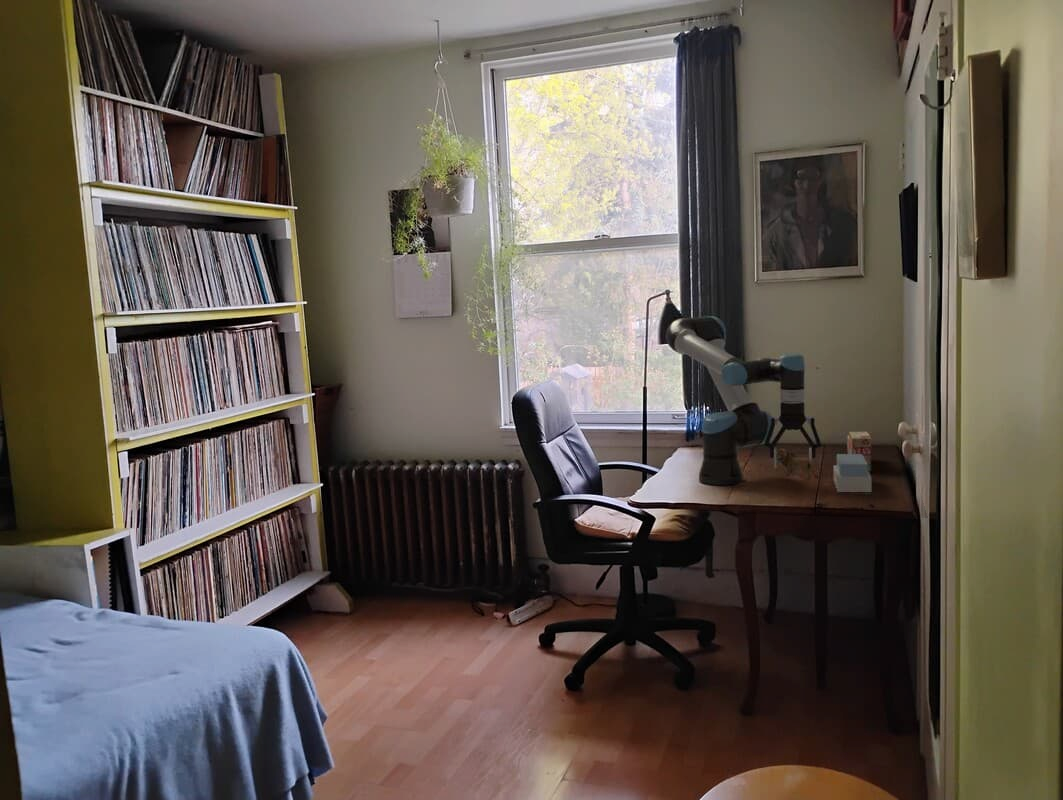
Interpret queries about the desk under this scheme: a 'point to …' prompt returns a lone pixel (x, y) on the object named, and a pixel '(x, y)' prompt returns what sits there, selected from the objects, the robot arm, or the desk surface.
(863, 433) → the stack of blocks
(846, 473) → the two-tone layered slab
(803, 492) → the desk surface
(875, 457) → the desk surface
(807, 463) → the lion figurine
